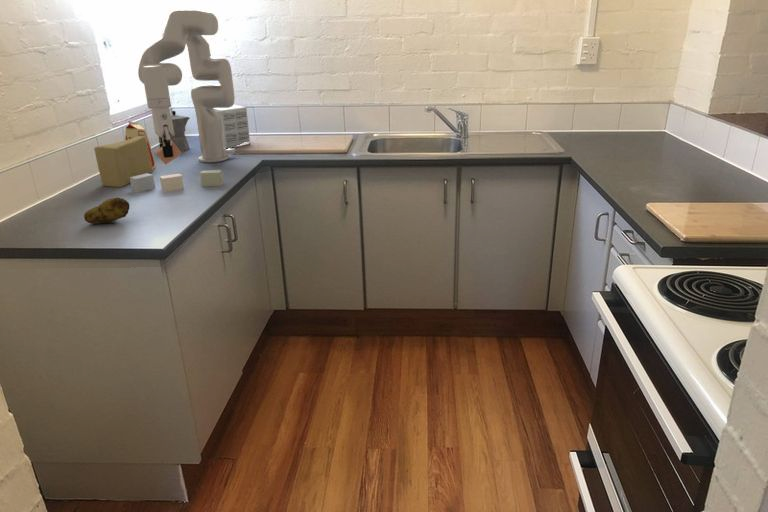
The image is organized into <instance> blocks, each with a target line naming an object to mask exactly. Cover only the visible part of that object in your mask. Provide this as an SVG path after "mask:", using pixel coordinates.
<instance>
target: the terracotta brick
mask: <svg viewBox="0 0 768 512" xmlns="http://www.w3.org/2000/svg"><path fill="white" fill-rule="evenodd" d="M171 144H172V149H173V157H168V158H165V157H164V154H163V148H162V147H160V146H159V148H157V149H155V150H154V152H155V154H156V155H157V157H158V158H159V160H160V161H161V162H162V163H163V164H164V165H165V166H166V165H167V164H169V163H170V162H172V161H174V160H175V159H177V157H179V156H180V155H182V154H183V153H182V152H181V151H180V150H179V149H178V147H177V146H176V144H175V143H174V142H173V141H172V140H171Z"/></svg>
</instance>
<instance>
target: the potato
mask: <svg viewBox="0 0 768 512" xmlns="http://www.w3.org/2000/svg"><path fill="white" fill-rule="evenodd" d="M129 210H130V203H129V201H127V200H126V199H125V198H121V197H117V196H116V197H113V198H108V199H106V200H105V201H103V202H102V203H101V204H99V205H97V206H95V207H93V208H90V209H88V210H86V211H85V212H84V215H83V218H84V221H85V222H87V224H88V223H89V224H92V225H96V224H108V223H110V224H111V223H113V222H116V221H117V220H121V219H122V218H125V217H126V216H127V215H128V214H129Z"/></svg>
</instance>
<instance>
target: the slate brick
mask: <svg viewBox="0 0 768 512" xmlns="http://www.w3.org/2000/svg"><path fill="white" fill-rule="evenodd" d="M130 187H131V191H133V192H137V193H140V192H144V191H148V190H152V189H155V188H156V184H155V178H154V174H152V173H150V174H148V173H146V174H142V175H138V176H133V177H130Z"/></svg>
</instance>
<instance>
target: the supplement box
mask: <svg viewBox="0 0 768 512" xmlns="http://www.w3.org/2000/svg"><path fill="white" fill-rule="evenodd" d="M213 109H214V110H215V111H216V112H217V114H218V115H219V117H220V122H221V131H222V139H223V147H224V148H228V149H229V148H230V149H233V148H232V147H234V148H236V147H235V146H237V145H240V144H242V143H244V142H249V141H250V138H251V137H250V130H249V129H250V128H249V119H248V111H247V107H246V106H244V105H239V104H235V103H234V104H233V106H232V107H229V108H213ZM250 142H251V141H250Z"/></svg>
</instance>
